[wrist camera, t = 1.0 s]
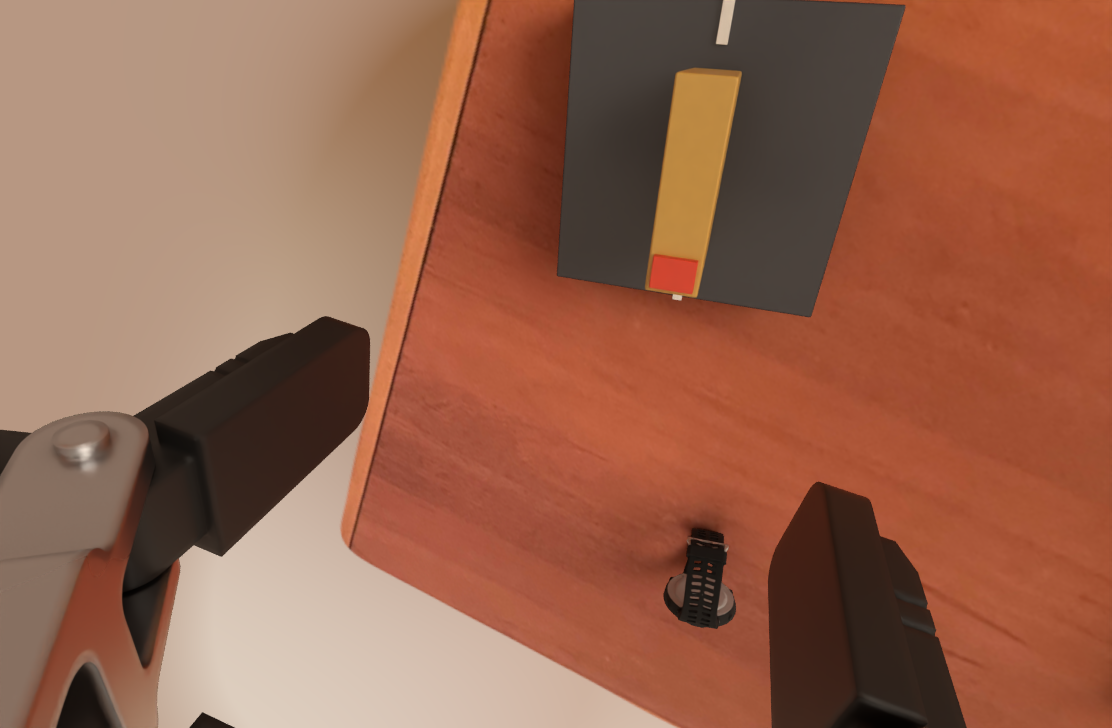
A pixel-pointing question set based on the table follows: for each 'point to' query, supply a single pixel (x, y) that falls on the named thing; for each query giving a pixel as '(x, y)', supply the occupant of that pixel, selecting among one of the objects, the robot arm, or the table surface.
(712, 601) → the smartwatch
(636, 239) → the plate
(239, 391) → the robot arm
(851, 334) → the table surface
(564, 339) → the table surface
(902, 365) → the table surface
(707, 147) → the lock knob
